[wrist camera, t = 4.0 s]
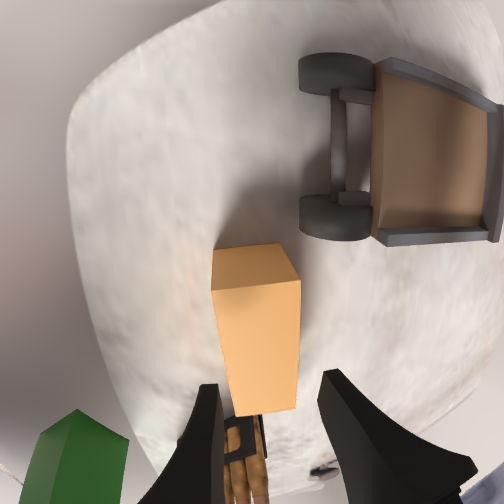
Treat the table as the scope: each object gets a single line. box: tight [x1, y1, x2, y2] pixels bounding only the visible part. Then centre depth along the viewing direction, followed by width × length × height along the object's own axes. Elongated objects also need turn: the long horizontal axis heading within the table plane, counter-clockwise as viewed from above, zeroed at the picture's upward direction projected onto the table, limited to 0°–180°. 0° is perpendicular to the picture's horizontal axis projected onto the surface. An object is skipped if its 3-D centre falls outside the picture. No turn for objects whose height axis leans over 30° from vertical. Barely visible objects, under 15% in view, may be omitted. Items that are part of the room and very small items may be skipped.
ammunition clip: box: [177, 414, 269, 504], centre depth 18 cm, size 11×2×12 cm, turn 129°
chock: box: [211, 243, 301, 417], centre depth 16 cm, size 4×10×5 cm, turn 4°
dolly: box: [298, 52, 504, 247], centre depth 13 cm, size 17×9×6 cm, turn 91°
